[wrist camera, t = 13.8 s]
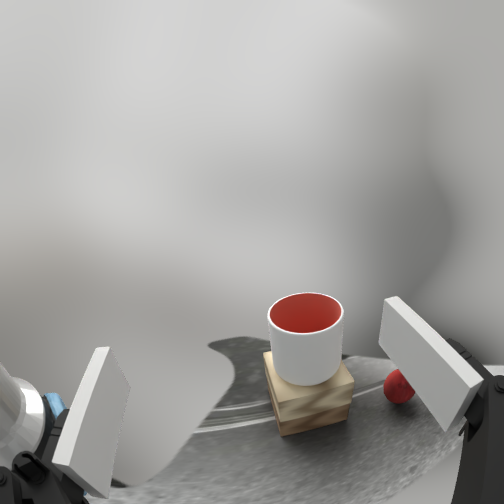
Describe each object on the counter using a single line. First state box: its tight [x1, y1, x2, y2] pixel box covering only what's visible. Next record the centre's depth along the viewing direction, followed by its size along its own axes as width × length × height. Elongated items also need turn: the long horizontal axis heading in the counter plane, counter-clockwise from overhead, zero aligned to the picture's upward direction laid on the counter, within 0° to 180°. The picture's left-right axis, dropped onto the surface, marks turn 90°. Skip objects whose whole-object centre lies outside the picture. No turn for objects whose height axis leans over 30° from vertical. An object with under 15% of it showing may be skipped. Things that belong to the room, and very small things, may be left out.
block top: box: [263, 351, 355, 422], centre depth 41 cm, size 11×11×5 cm
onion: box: [384, 369, 415, 403], centre depth 39 cm, size 6×6×8 cm
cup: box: [267, 293, 344, 386], centre depth 39 cm, size 10×10×10 cm
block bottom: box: [267, 379, 350, 437], centre depth 43 cm, size 11×11×5 cm
